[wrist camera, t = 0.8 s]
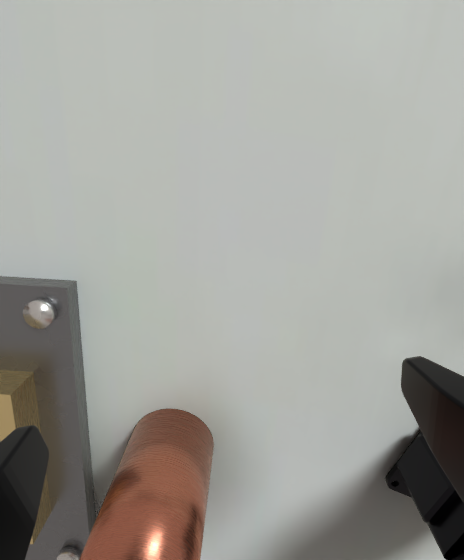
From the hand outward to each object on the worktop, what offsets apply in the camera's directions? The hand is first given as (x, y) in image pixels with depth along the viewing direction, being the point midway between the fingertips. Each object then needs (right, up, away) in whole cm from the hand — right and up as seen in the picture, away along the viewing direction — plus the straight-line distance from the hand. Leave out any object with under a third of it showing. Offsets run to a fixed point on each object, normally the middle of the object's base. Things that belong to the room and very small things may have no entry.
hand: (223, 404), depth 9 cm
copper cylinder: (-5, -8, +16) cm, 19 cm away
